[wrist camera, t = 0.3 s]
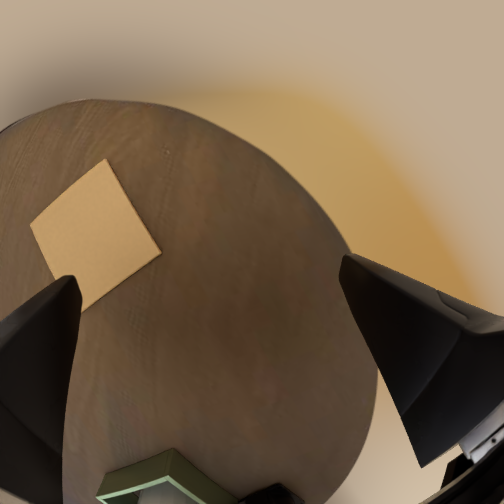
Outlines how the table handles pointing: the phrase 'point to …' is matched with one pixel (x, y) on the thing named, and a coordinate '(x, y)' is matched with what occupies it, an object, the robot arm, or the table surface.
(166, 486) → the cup
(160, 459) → the green square frame
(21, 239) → the table surface
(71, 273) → the coaster
